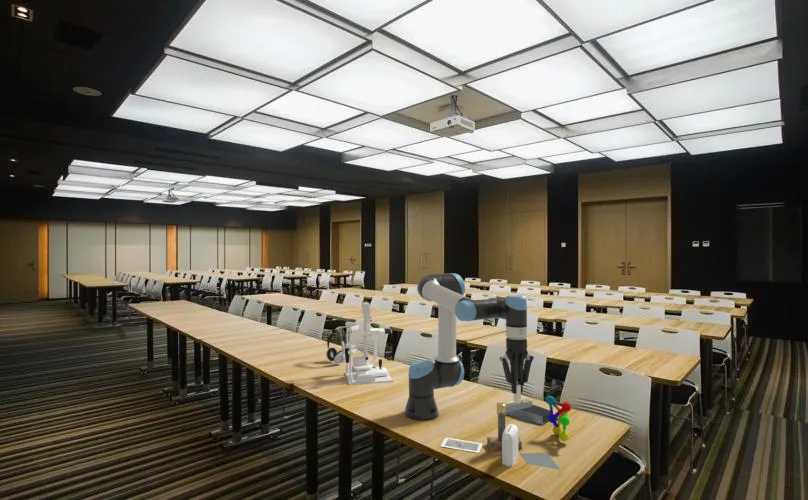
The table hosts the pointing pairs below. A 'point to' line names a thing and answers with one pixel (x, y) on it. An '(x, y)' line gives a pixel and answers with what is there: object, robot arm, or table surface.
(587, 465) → the table surface
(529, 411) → the external hard drive
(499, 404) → the lever
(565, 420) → the molecular model
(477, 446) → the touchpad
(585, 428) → the table surface
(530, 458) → the mat
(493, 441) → the post stand
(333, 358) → the headphones
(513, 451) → the white upright block
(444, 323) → the robot arm
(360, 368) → the white slit lamp
